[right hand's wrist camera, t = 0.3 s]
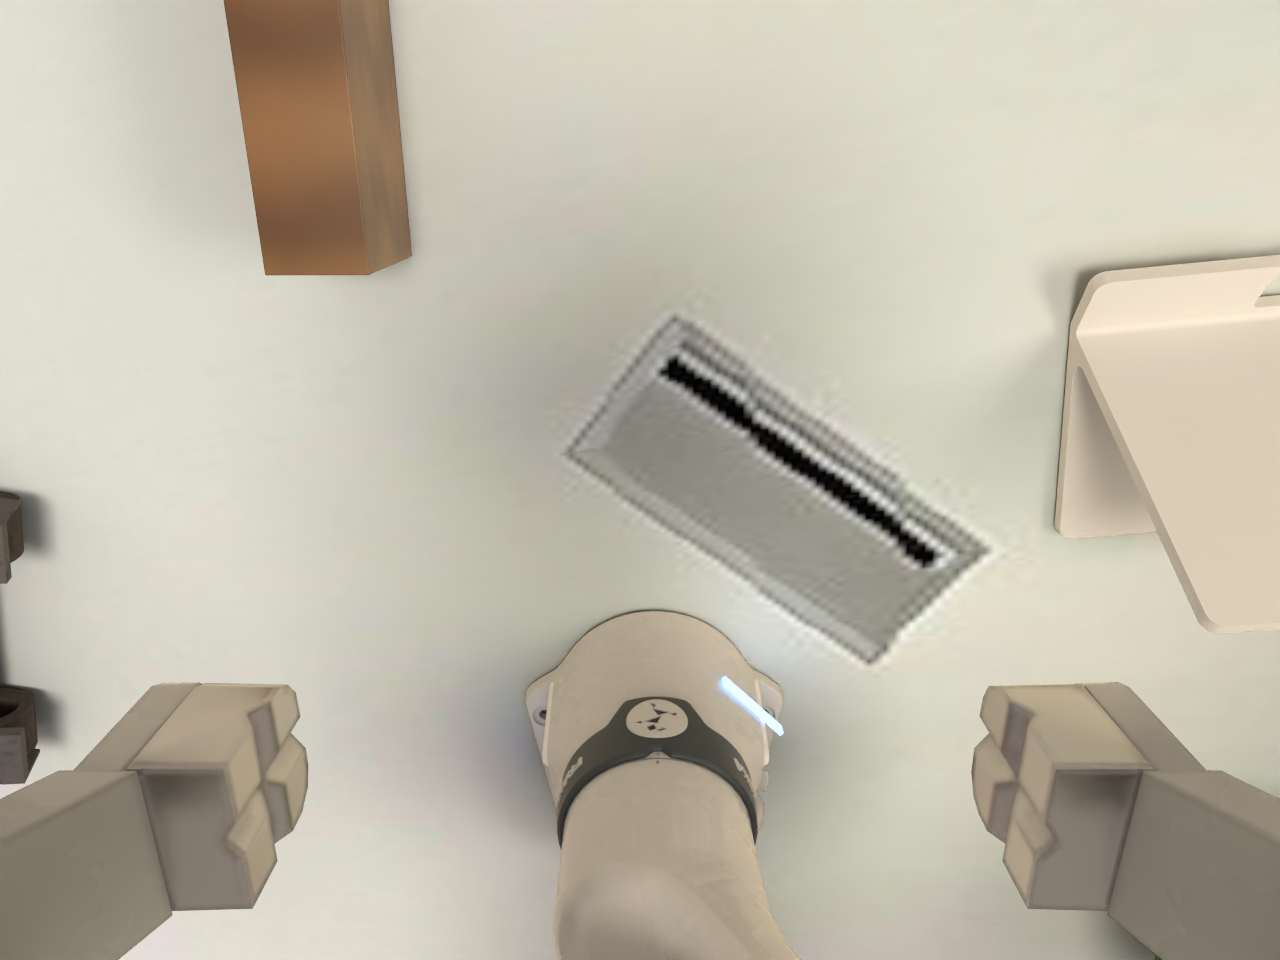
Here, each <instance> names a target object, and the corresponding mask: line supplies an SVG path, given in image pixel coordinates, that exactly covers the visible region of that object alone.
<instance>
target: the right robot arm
mask: <svg viewBox="0 0 1280 960" xmlns="http://www.w3.org/2000/svg"><path fill="white" fill-rule="evenodd" d="M782 702H783V700H782V691H781V688H780V687H779V686H778V685H777V684H776V683H775V682H774V681H773V680H771V679H770V678H768V677H766V676H765V675H763V674H761V673H759V672H758V671H756V670H754V669H752V668H751V667H750V666H749V665H748V663H747V662H746V661H745V660H744V658H743V657H742V656H741V654H740V653H739V651H738V650H737V649H736V647H735V646H734V645H733V644H732V643H731V642H730V641H729V640H728V639H727V638H726V637H725V636H724V635H723V634H722V633H720V632H719V631H718V630H716V629H715V628H713V627H712V626H710V625H708V624H706V623H704V622H702V621H700V620H698V619H695V618H693V617H690V616H686V615H683V614H678V613H673V612H665V611H644V612H636V613H630V614H626V615H623V616H619V617H616V618H614V619H611V620H609V621H607V622H604V623H603V624H601V625H599V626H597V627H596V628H594V629H593V630H591V631H590V632H588V633H587V634H586V635H585V636H584V637H582V638H581V639H580V640H579V641H578V642H577V643H576V644H575V646H574V647H573V648H572V649H571V651H570V652H569V653H568V655H567V656H566V658H565V659H564V660H563V662H562V663H561V664H560V665H559V666H558V667H557V668H556V669H555V670H553V671H551V672H550V673H548V674H546V675H544V676H543V677H541V678H539V679H538V680H536V681H535V682H534V683H532V684H531V685H530V686H529V687H528V689H527V691H526V707H527V711H528V714H529V718H530V721H531V725H532V728H533V731H534V735H535V738H536V742H537V745H538V749H539V752H540V755H541V759H542V762H543V766H544V769H545V773H546V776H547V779H548V783H549V786H550V790H551V793H552V797H553V800H554V803H555V807H556V810H557V815H558V817H557V833H558V839H559V845H560V848H561V859H560V869H559V878H558V887H557V896H556V905H555V914H554V923H553V926H554V938H555V944H556V948H557V952H558V955H559V958H560V960H800V958H799V957H798V956H797V955H796V953H795V952H794V951H793V950H792V948H791V947H790V945H789V944H788V942H787V941H786V939H785V938H784V936H783V935H782V933H781V931H780V929H779V927H778V925H777V924H776V922H775V920H774V917H773V915H772V912H771V909H770V906H769V902H768V899H767V895H766V892H765V888H764V885H763V881H762V877H761V873H760V869H759V865H758V860H757V855H756V851H755V844H756V838H757V832H758V830H760V829H761V828H762V825H763V819H764V801H763V799H762V798H760V797H759V796H756V791H766V790H767V788H768V782H769V775H768V772H767V771H764V770H763V768H764V766H765V765H767V764H768V763H769V747H770V744H771V741H772V737H773V734H774V731H775V732H776V733H778V734H779V735H780V736H781V735H782V734H783V729H782V725H781V724H779V723H778V722H777V721H778V717H779V714H780V711H781V707H782ZM763 709H765V710H767V711H765V710H763ZM542 710H547V713H546V714H545V713H542V712H541V711H542ZM299 718H300V712H299V707H298V702H297V697H296V693H295V691H294V690H293V689H292V688H291V687H290V686H288V685H273V684H225V683H205V684H201V683H162V684H158V685H155V686H152V687H151V688H150V689H149V690H148V691H147V692H146V693H145V694H144V695H143V696H142V697H141V698H140V699H139V701H138V702H137V703H136V704H135V705H134V706H133V707H132V708H131V709H130V710H129V711H128V712H127V713H126V714H125V716H124V717H123V718H122V719H121V720H120V721H119V722H118V723H117V724H116V725H115V726H114V727H113V728H112V730H111V731H110V732H109V733H108V734H107V735H106V736H105V737H104V738H103V739H102V740H101V741H100V742H99V743H98V745H97V746H96V747H95V748H94V749H93V750H92V751H91V752H90V753H89V754H88V755H87V756H86V757H85V759H84V760H83V761H82V762H81V763H80V764H79V765H78V766H77V767H76V768H75V769H74V770H73V771H57V772H55V773H53V774H51V775H49V776H47V777H45V778H43V779H41V780H39V781H37V782H35V783H33V784H31V785H28V786H26V787H24V788H22V789H20V790H18V791H16V792H14V793H12V794H10V795H8V796H6V797H4V798H2V799H0V960H118V959H120V958H121V957H122V956H123V955H125V954H126V953H127V952H128V951H129V950H131V949H132V948H133V947H134V946H135V945H137V944H138V943H139V942H140V941H142V940H143V939H144V938H145V937H146V936H148V935H149V934H150V933H151V932H152V931H154V930H155V929H156V928H157V927H159V926H160V925H161V924H162V923H163V922H165V921H166V920H167V919H168V918H169V917H171V916H172V911H185V910H220V909H253V907H254V905H255V903H256V901H257V899H258V897H259V895H260V893H261V891H262V889H263V887H264V885H265V884H266V882H267V880H268V878H269V876H270V874H271V872H272V870H273V868H274V866H275V864H276V862H277V856H276V850H275V845H274V844H275V843H276V842H277V841H279V840H280V839H282V838H283V837H285V836H286V835H287V834H289V833H290V832H292V831H293V829H294V827H295V825H296V823H297V821H298V819H299V817H300V815H301V813H302V810H303V805H304V801H305V797H306V792H307V788H308V762H307V755H306V748H305V747H304V746H303V745H302V744H301V743H300V742H299V741H298V740H297V739H296V738H295V737H294V736H293V735H292V734H291V731H292V729H293V728H294V726H295V724H296V723H297V721H298V719H299ZM980 718H981V719H982V721H983V723H984V724H985V726H986V728H987V729H988V731H989V734H988V735H987V736H986V737H985V738H984V739H983V740H982V741H981V742H980V743H979V744H978V745H977V746H976V747H975V748H974V756H973V764H972V772H971V773H972V783H973V794H974V799H975V802H976V806H977V809H978V812H979V815H980V817H981V819H982V821H983V823H984V825H985V827H986V829H987V831H988V832H990V833H991V834H993V835H994V836H995V837H997V838H998V839H1000V840H1001V841H1003V842H1004V843H1005V844H1006V845H1005V850H1004V856H1003V863H1004V864H1005V866H1006V868H1007V870H1008V872H1009V874H1010V876H1011V878H1012V880H1013V882H1014V883H1015V885H1016V887H1017V889H1018V891H1019V893H1020V895H1021V897H1022V899H1023V901H1024V903H1025V904H1026V906H1027V908H1028V909H1059V910H1094V911H1108V914H1107V915H1109V916H1110V917H1111V918H1112V919H1113V920H1115V921H1116V922H1117V923H1118V924H1119V925H1121V926H1122V927H1123V928H1124V929H1125V930H1127V931H1128V932H1129V933H1130V934H1132V935H1133V936H1134V937H1135V938H1136V939H1138V940H1139V941H1140V942H1141V943H1142V944H1144V945H1145V946H1146V947H1147V948H1149V949H1150V950H1151V951H1152V952H1153V953H1155V954H1156V955H1157V956H1158V957H1159V958H1161V959H1162V960H1280V799H1278V798H1276V797H1274V796H1272V795H1270V794H1268V793H1266V792H1264V791H1262V790H1260V789H1258V788H1256V787H1254V786H1251V785H1249V784H1247V783H1245V782H1243V781H1241V780H1239V779H1237V778H1235V777H1233V776H1231V775H1229V774H1227V773H1225V772H1223V771H1207V770H1206V769H1205V768H1204V767H1203V766H1202V765H1201V764H1200V763H1199V762H1198V761H1197V760H1196V759H1195V757H1194V756H1193V755H1192V754H1191V753H1190V752H1189V751H1188V750H1187V749H1186V748H1185V747H1184V746H1183V745H1182V743H1181V742H1180V741H1179V740H1178V739H1177V738H1176V737H1175V736H1174V735H1173V734H1172V733H1171V732H1170V731H1169V729H1168V728H1167V727H1166V726H1165V725H1164V724H1163V723H1162V722H1161V721H1160V720H1159V719H1158V718H1157V717H1156V715H1155V714H1154V713H1153V712H1152V711H1151V710H1150V709H1149V708H1148V707H1147V706H1146V705H1145V704H1144V703H1143V701H1142V700H1141V699H1140V698H1139V697H1138V696H1137V695H1136V694H1135V693H1134V692H1133V691H1132V690H1131V689H1130V687H1128V686H1125V685H1123V684H1121V683H1119V682H1111V683H1083V684H1071V685H1019V686H989V687H988V689H987V691H986V693H985V695H984V697H983V700H982V706H981V712H980Z"/></svg>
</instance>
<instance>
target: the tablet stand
mask: <svg viewBox="0 0 1280 960" xmlns="http://www.w3.org/2000/svg"><path fill="white" fill-rule="evenodd" d="M1276 277H1280V255H1271V256H1260V257H1250V258H1239V259H1229V260H1218V261H1208V262H1197V263H1187V264H1176V265H1166V266H1155V267H1145V268H1134V269H1124V270H1113V271H1105V272H1101V273H1099V274H1097V275H1095V276H1094V277H1093V278H1092V279H1091V280H1090V281H1089V283H1088V285H1087V287H1086V290H1085V292H1084V294H1083V296H1082V299H1081V301H1080V303H1079V306H1078V308H1077V310H1076V312H1075V315H1074V317H1073V319H1072V321H1071V324H1070V335H1069V348H1068V361H1067V374H1066V386H1065V399H1064V412H1063V424H1062V437H1061V450H1060V462H1059V475H1058V488H1057V501H1056V513H1055V529H1056V530H1057V531H1058V532H1059V533H1060V534H1061V535H1062V536H1063V537H1065V538H1067V539H1077V538H1088V537H1100V536H1112V535H1124V534H1135V533H1147V532H1157V533H1158V535H1159V537H1160V539H1161V541H1162V544H1163V546H1164V548H1165V550H1166V552H1167V554H1168V557H1169V559H1170V561H1171V563H1172V565H1173V568H1174V570H1175V572H1176V574H1177V576H1178V578H1179V581H1180V583H1181V585H1182V587H1183V589H1184V592H1185V594H1186V596H1187V598H1188V600H1189V602H1190V605H1191V607H1192V609H1193V611H1194V613H1195V616H1196V618H1197V620H1198V622H1199V623H1200V624H1201V626H1202V627H1204V628H1205V629H1206V630H1208V631H1210V632H1213V633H1217V634H1223V633H1236V632H1248V631H1260V630H1273V629H1280V295H1274V296H1264V297H1260V295H1261V294H1262V292H1263V291H1264V289H1265V288H1266V287H1267V285H1268V284H1269V282H1270V281H1271V280H1273V279H1274V278H1276Z"/></svg>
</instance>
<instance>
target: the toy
mask: <svg viewBox="0 0 1280 960" xmlns="http://www.w3.org/2000/svg"><path fill="white" fill-rule="evenodd" d="M21 503H22V501H20V499H19V497H18V496H17V495H14V494H10V493H4V492H0V583H5V584H7V583H8V581H9V580H10V578H11V566H10V563H11V562H13V561H15V560H16V559H17V558H19V557H20V556H21V555H22V553H23V552H24V546H23V534H22V522H21V510H20V505H21ZM37 742H38V741H37V728H36V716H35V705H34V695H33V694H32V693H31V692H29V691H25V690H18V689H11V688H3V687H0V784H22V783H25V782H26V780H27V778H28V776H29V773H30V771H31V769H32V767H33V765H34V763H35V761H36V759H37V757H38V755H39V753H40V749H35V747H36V744H37Z"/></svg>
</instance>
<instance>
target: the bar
mask: <svg viewBox="0 0 1280 960" xmlns="http://www.w3.org/2000/svg"><path fill="white" fill-rule="evenodd" d="M224 5H225V12H226V18H227V25H228V31H229V38H230V45H231V51H232V58H233V64H234V71H235V78H236V84H237V91H238V97H239V104H240V111H241V117H242V124H243V131H244V137H245V144H246V150H247V157H248V164H249V170H250V177H251V183H252V190H253V197H254V203H255V210H256V216H257V223H258V230H259V236H260V243H261V249H262V256H263V263H264V269H265V275H370V274H372V273H374V272H376V271H379V270H381V269H383V268H385V267H388V266H390V265H392V264H395V263H397V262H399V261H401V260H404V259H406V258H408V257H410V256H412V253H411V242H410V231H409V220H408V210H407V199H406V188H405V177H404V166H403V156H402V145H401V134H400V123H399V113H398V102H397V91H396V80H395V69H394V59H393V48H392V37H391V26H390V15H389V5H388V0H224Z"/></svg>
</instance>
